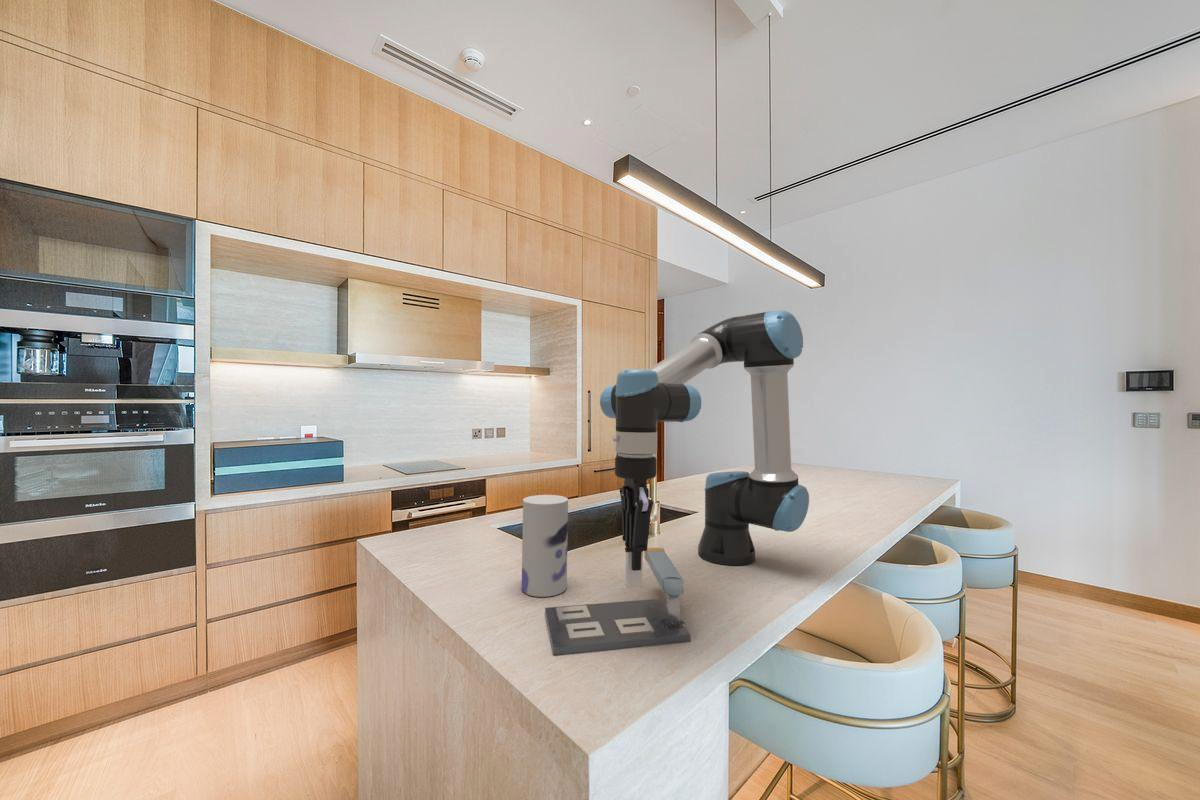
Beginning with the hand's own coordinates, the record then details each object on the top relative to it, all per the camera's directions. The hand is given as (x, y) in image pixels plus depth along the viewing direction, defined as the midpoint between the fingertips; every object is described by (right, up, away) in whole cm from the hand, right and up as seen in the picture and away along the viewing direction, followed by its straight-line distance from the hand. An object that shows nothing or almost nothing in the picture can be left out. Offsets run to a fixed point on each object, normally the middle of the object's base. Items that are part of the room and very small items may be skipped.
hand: (633, 585), depth 82 cm
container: (-19, -9, +19) cm, 28 cm away
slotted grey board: (-4, -9, +2) cm, 9 cm away
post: (+7, -9, +1) cm, 11 cm away
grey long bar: (+7, -2, +10) cm, 12 cm away
